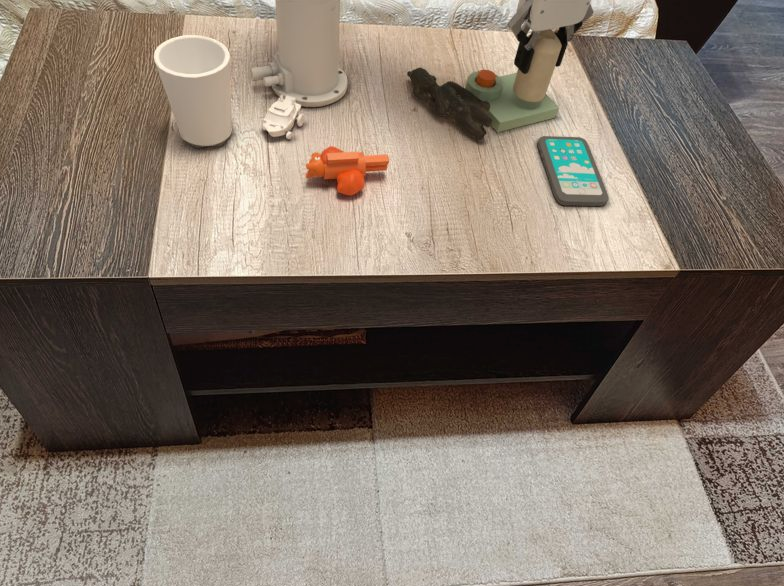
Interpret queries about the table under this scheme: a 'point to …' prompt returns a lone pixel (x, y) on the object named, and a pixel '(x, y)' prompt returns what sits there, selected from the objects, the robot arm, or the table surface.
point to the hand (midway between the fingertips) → (537, 64)
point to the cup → (197, 87)
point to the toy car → (282, 117)
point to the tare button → (486, 78)
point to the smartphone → (572, 171)
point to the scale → (510, 103)
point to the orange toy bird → (345, 168)
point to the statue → (452, 102)
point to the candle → (538, 68)
